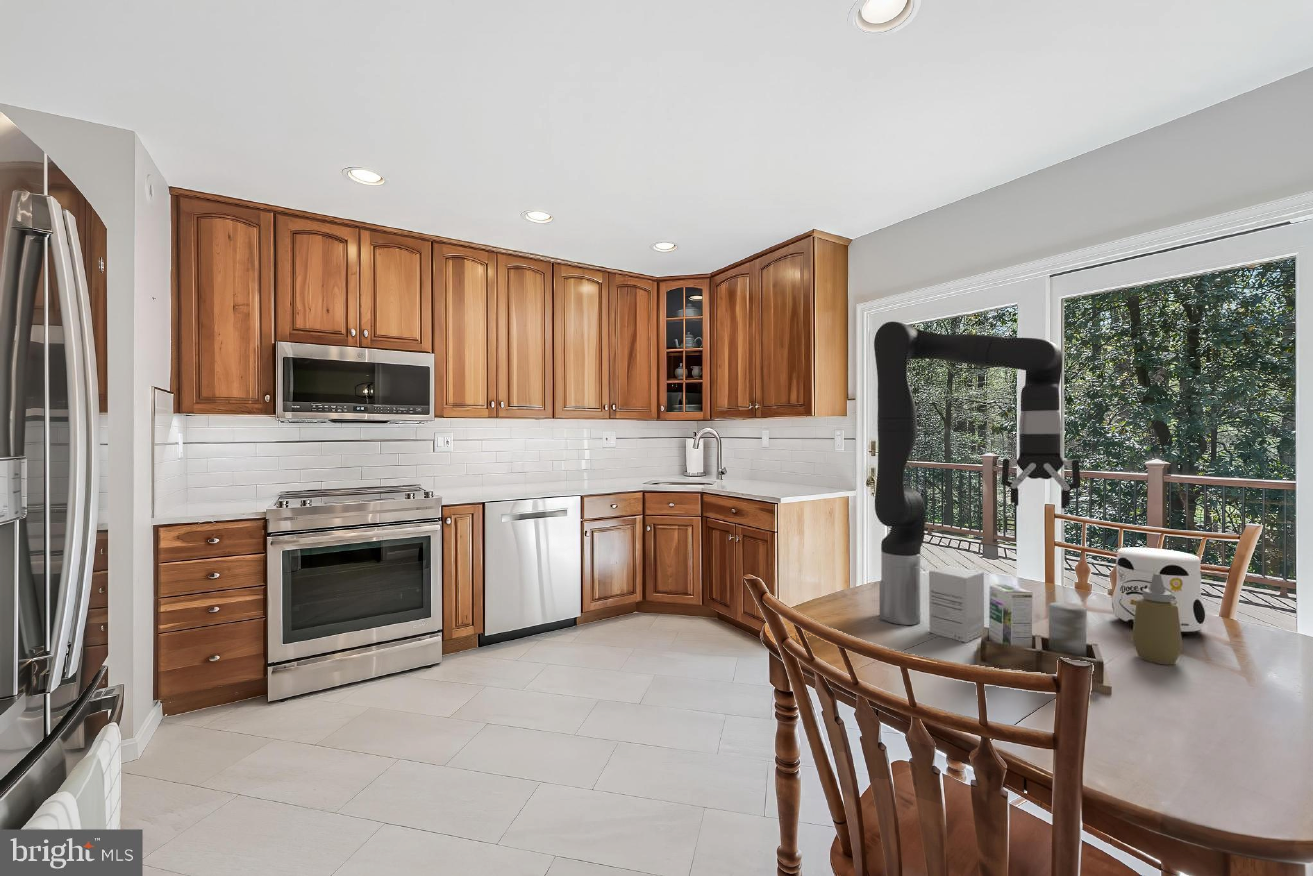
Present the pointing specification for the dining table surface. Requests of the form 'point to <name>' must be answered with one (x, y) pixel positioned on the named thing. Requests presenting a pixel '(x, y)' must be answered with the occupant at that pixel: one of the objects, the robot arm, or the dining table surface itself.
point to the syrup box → (1010, 615)
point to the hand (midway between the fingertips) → (1039, 506)
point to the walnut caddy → (1049, 648)
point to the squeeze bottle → (1157, 625)
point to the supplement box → (956, 603)
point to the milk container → (1177, 579)
